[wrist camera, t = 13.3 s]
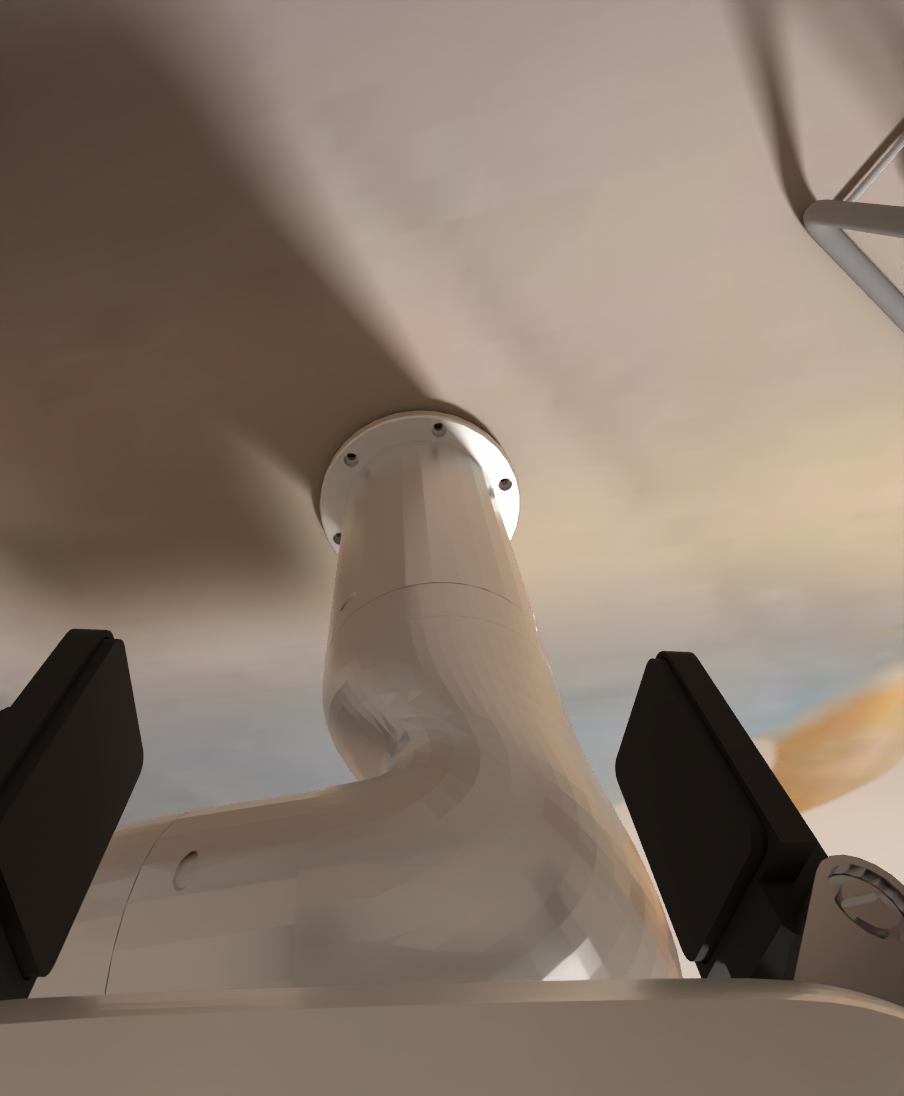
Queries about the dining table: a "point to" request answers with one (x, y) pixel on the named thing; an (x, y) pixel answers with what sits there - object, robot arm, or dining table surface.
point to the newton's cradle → (864, 217)
